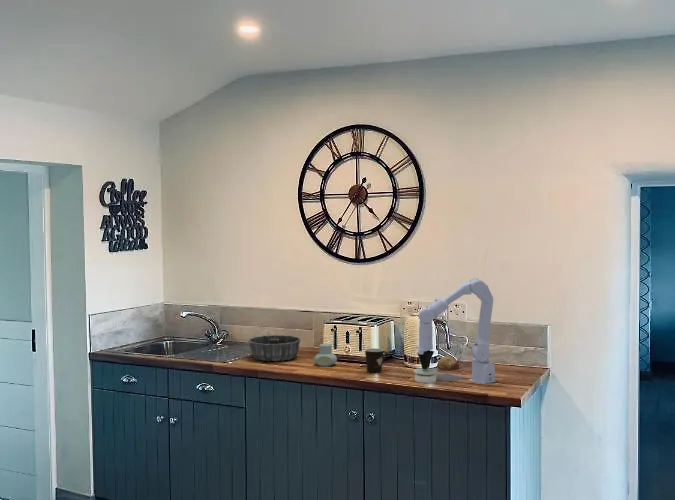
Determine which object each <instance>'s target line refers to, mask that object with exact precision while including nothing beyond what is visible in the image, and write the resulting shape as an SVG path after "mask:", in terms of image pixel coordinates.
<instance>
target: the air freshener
mask: <svg viewBox="0 0 675 500" xmlns="http://www.w3.org/2000/svg"><path fill="white" fill-rule="evenodd" d="M332 347H333V346H332V344H330V343H321V344H319V347H318V348H319V351H318V353H317V354H316V355H315V356H314V357H313V360H314V363H315V364H316V365H318V366H320V367H324V368H325V367H331V366H333V365H335V364H336V362H338V357H337V356H336V355H335V354H334V353H333V351H332V350H333V349H332Z"/></svg>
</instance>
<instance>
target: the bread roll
mask: <svg viewBox="0 0 675 500" xmlns="http://www.w3.org/2000/svg"><path fill="white" fill-rule="evenodd" d="M459 368H460V365H459V362H458V359H456V358H455V357H453V356H449V355H446V356H443V357H441V358H440V359H439V360H438V361H437V369H438V370H442V371H455V370H459Z"/></svg>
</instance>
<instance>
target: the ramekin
mask: <svg viewBox="0 0 675 500" xmlns="http://www.w3.org/2000/svg"><path fill="white" fill-rule="evenodd" d="M436 375H437V374H434V375H421V374H416V373H414V382H418V383H423V384H424V383H426V384H427V383H430V384H431V383H436V382H437V379H436Z"/></svg>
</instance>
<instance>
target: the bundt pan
mask: <svg viewBox="0 0 675 500" xmlns="http://www.w3.org/2000/svg"><path fill="white" fill-rule="evenodd" d="M247 341H248V343H249V347H250V353H251V356H253V357H254V359H255V360H257V361H263V362H266V361H267V362H268V363H270V362H272V361H273V362H279V361H280V362H284V361H290V360H292V359H295V358H296V357H297V355H298V353H299V349H300V342H301V341H302V338H300V337H299V336H294V335H285V334H272V335H262V336H254V337H251V338H249V339H248V340H247Z"/></svg>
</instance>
